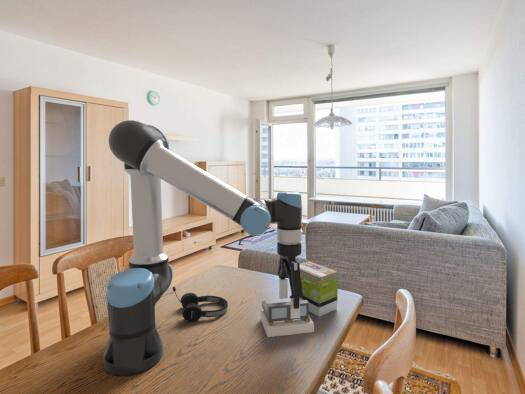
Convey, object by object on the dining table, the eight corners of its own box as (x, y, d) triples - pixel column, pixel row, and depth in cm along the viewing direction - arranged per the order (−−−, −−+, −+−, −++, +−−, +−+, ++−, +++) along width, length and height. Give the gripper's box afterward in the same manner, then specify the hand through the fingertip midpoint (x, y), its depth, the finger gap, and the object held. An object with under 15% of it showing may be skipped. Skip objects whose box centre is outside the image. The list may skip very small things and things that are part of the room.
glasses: (261, 306, 106) (261, 292, 106) (298, 302, 109) (298, 289, 108) (268, 322, 95) (268, 307, 95) (308, 318, 98) (309, 303, 97)
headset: (172, 281, 113) (225, 280, 120) (169, 306, 114) (223, 304, 121) (173, 296, 101) (233, 294, 107) (171, 324, 101) (230, 321, 108)
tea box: (290, 302, 118) (290, 265, 117) (308, 295, 124) (309, 260, 123) (319, 318, 106) (319, 276, 105) (338, 309, 112) (339, 270, 111)
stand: (260, 319, 105) (260, 308, 105) (302, 315, 108) (302, 304, 108) (267, 337, 94) (267, 324, 94) (313, 332, 97) (314, 319, 97)
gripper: (315, 252, 84) (314, 326, 86) (289, 232, 108) (289, 290, 110) (288, 253, 82) (288, 329, 85) (268, 233, 107) (269, 292, 109)
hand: (288, 307), depth 97 cm, fingers open, 13 cm apart
